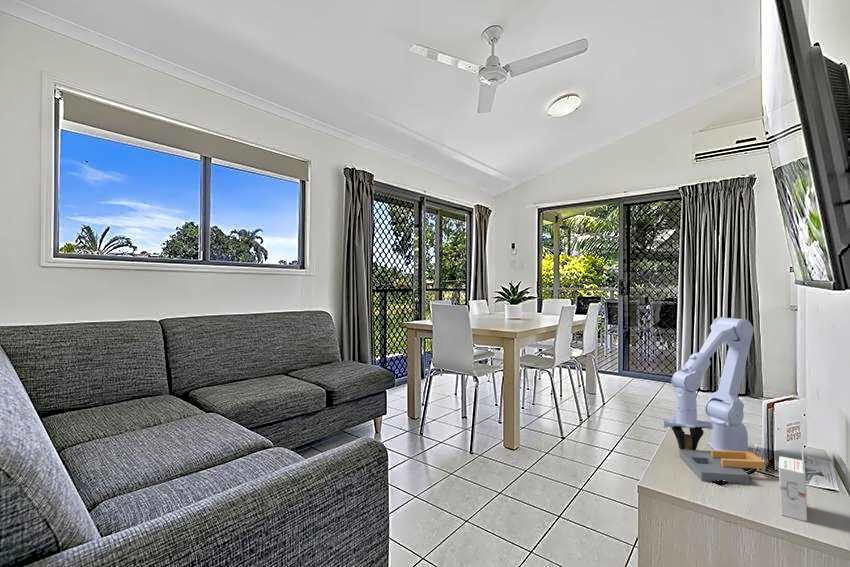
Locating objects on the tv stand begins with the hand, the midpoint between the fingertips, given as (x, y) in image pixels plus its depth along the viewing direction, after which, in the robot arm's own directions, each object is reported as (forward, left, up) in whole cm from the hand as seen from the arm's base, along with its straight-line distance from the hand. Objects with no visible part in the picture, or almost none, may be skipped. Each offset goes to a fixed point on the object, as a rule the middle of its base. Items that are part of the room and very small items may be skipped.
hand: (687, 449), depth 135 cm
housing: (-3, +11, -1) cm, 11 cm away
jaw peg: (0, 0, -1) cm, 1 cm away
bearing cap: (-9, +11, +1) cm, 14 cm away
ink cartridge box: (-12, +32, -2) cm, 34 cm away
